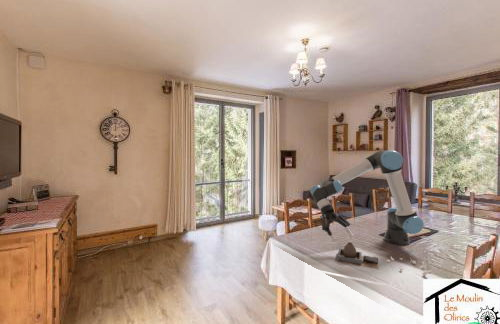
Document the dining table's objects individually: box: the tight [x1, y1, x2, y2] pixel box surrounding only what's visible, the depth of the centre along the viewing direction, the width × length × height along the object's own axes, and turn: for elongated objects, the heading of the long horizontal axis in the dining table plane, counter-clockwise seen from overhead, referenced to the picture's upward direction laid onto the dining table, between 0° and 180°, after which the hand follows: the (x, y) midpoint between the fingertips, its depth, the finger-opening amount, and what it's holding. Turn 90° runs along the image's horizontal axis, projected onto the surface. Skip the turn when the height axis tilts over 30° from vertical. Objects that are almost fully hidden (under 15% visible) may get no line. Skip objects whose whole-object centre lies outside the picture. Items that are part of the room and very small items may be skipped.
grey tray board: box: [336, 248, 379, 266], centre depth 134 cm, size 20×12×3 cm, turn 65°
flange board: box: [337, 254, 379, 270], centre depth 134 cm, size 20×14×1 cm
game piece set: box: [386, 256, 432, 277], centre depth 128 cm, size 19×20×4 cm
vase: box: [342, 241, 357, 258], centre depth 136 cm, size 7×7×9 cm
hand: (343, 238), depth 139 cm, fingers open, 13 cm apart
